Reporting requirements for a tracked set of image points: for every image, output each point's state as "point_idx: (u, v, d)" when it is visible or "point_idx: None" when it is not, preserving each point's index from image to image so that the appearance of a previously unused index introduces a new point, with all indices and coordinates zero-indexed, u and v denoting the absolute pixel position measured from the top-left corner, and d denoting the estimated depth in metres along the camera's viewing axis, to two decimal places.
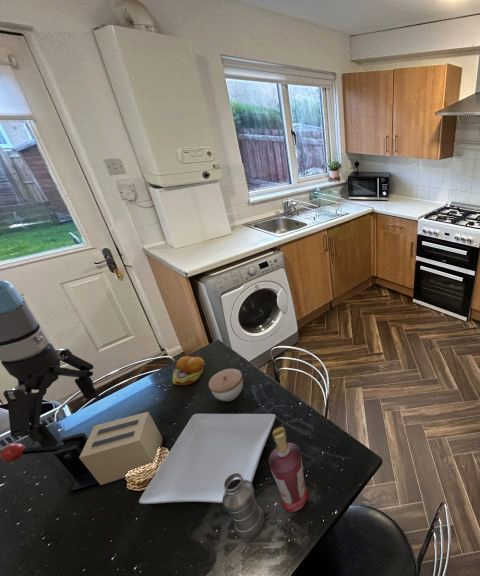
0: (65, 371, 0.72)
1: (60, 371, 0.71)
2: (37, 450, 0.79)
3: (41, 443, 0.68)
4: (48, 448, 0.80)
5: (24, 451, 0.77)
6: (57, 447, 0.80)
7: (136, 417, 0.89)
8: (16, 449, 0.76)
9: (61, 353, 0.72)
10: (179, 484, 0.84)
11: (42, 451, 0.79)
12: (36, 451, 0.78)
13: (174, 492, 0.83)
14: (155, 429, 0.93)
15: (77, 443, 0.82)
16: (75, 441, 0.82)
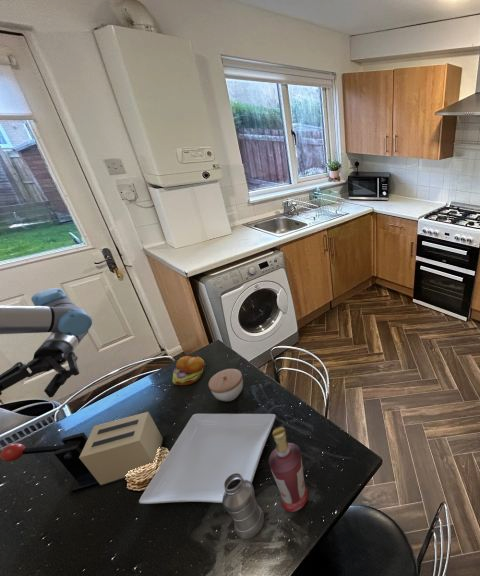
0: None
1: None
2: (37, 450, 0.79)
3: (50, 387, 0.83)
4: (48, 448, 0.80)
5: (24, 451, 0.77)
6: (57, 447, 0.80)
7: (136, 417, 0.89)
8: (16, 449, 0.76)
9: None
10: (179, 484, 0.84)
11: (42, 451, 0.79)
12: (36, 451, 0.78)
13: (174, 492, 0.83)
14: (155, 429, 0.93)
15: (77, 443, 0.82)
16: (75, 441, 0.82)
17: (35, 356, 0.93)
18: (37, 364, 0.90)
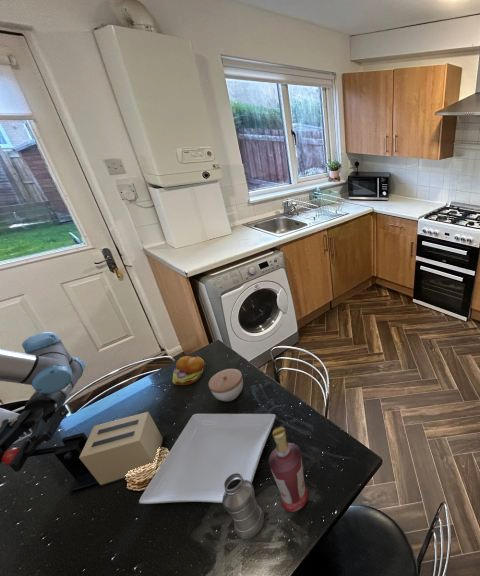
0: None
1: None
2: (37, 452, 0.79)
3: (17, 460, 0.74)
4: (48, 450, 0.80)
5: None
6: (57, 448, 0.81)
7: (136, 417, 0.89)
8: (16, 453, 0.77)
9: None
10: (179, 484, 0.84)
11: (42, 453, 0.79)
12: (36, 453, 0.79)
13: (174, 492, 0.83)
14: (155, 429, 0.93)
15: (76, 443, 0.82)
16: (74, 441, 0.82)
17: (26, 408, 0.87)
18: (28, 417, 0.84)
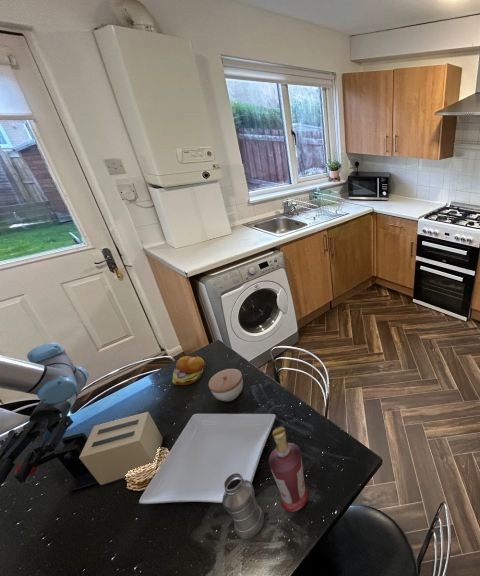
0: None
1: None
2: (43, 460, 0.80)
3: (22, 471, 0.76)
4: (51, 455, 0.81)
5: None
6: None
7: (136, 417, 0.89)
8: None
9: None
10: (179, 484, 0.84)
11: (48, 459, 0.81)
12: (43, 461, 0.80)
13: (174, 492, 0.83)
14: (155, 429, 0.93)
15: (73, 442, 0.82)
16: (71, 441, 0.82)
17: (31, 418, 0.89)
18: (34, 428, 0.86)
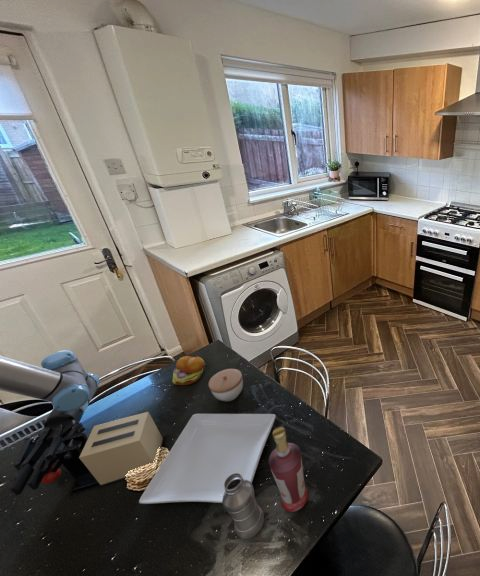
0: None
1: None
2: (56, 464, 0.82)
3: (34, 479, 0.78)
4: None
5: (51, 471, 0.82)
6: None
7: (136, 417, 0.89)
8: None
9: None
10: (179, 484, 0.84)
11: (60, 463, 0.82)
12: (57, 465, 0.82)
13: (174, 492, 0.83)
14: (155, 429, 0.93)
15: (69, 443, 0.81)
16: (69, 443, 0.82)
17: (46, 424, 0.91)
18: (48, 434, 0.89)
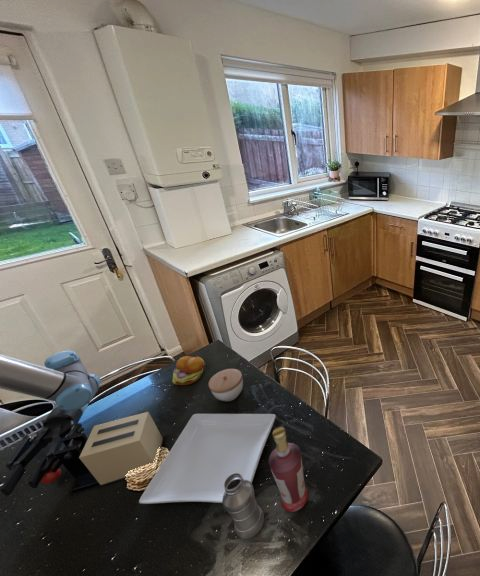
0: None
1: None
2: (56, 464, 0.82)
3: (34, 477, 0.78)
4: None
5: (51, 471, 0.82)
6: None
7: (136, 417, 0.89)
8: None
9: None
10: (179, 484, 0.84)
11: (60, 463, 0.82)
12: (57, 465, 0.82)
13: (174, 492, 0.83)
14: (155, 429, 0.93)
15: (69, 443, 0.81)
16: (69, 443, 0.82)
17: (45, 424, 0.92)
18: (47, 434, 0.89)
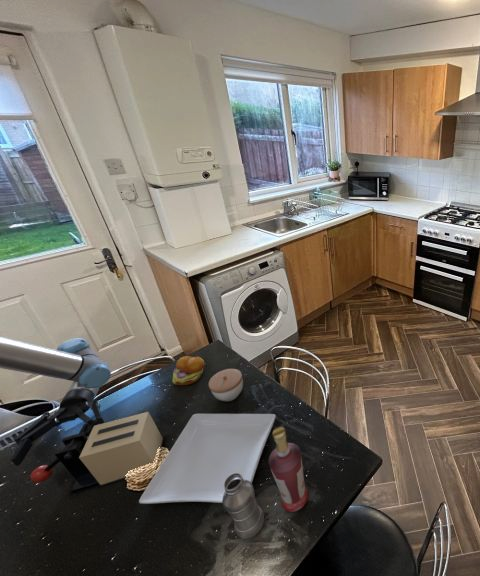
0: None
1: None
2: (52, 463, 0.82)
3: None
4: (57, 458, 0.82)
5: (44, 469, 0.82)
6: None
7: (136, 417, 0.89)
8: (36, 472, 0.81)
9: None
10: (179, 484, 0.84)
11: (56, 462, 0.82)
12: (52, 464, 0.82)
13: (174, 492, 0.83)
14: (155, 429, 0.93)
15: (70, 443, 0.81)
16: (69, 442, 0.82)
17: (61, 405, 0.99)
18: (64, 414, 0.96)
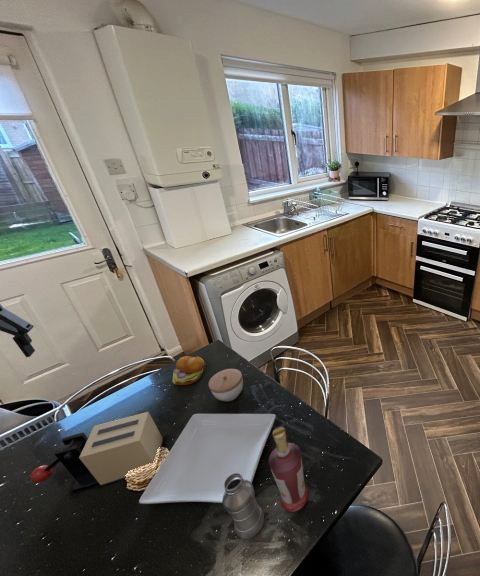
0: None
1: None
2: (52, 463, 0.82)
3: (28, 352, 0.84)
4: (57, 458, 0.82)
5: (44, 469, 0.82)
6: None
7: (136, 417, 0.89)
8: (36, 472, 0.81)
9: None
10: (179, 484, 0.84)
11: (56, 462, 0.82)
12: (52, 464, 0.82)
13: (174, 492, 0.83)
14: (155, 429, 0.93)
15: (70, 443, 0.81)
16: (69, 442, 0.82)
17: None
18: None
